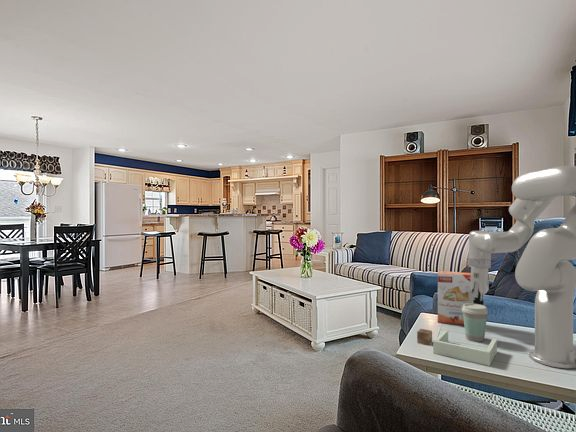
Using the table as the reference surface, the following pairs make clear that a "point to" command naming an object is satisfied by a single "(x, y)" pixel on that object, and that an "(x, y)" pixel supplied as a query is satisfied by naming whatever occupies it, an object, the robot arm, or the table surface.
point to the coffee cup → (475, 321)
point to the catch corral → (464, 350)
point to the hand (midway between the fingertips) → (478, 310)
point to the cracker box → (453, 296)
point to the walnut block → (424, 336)
